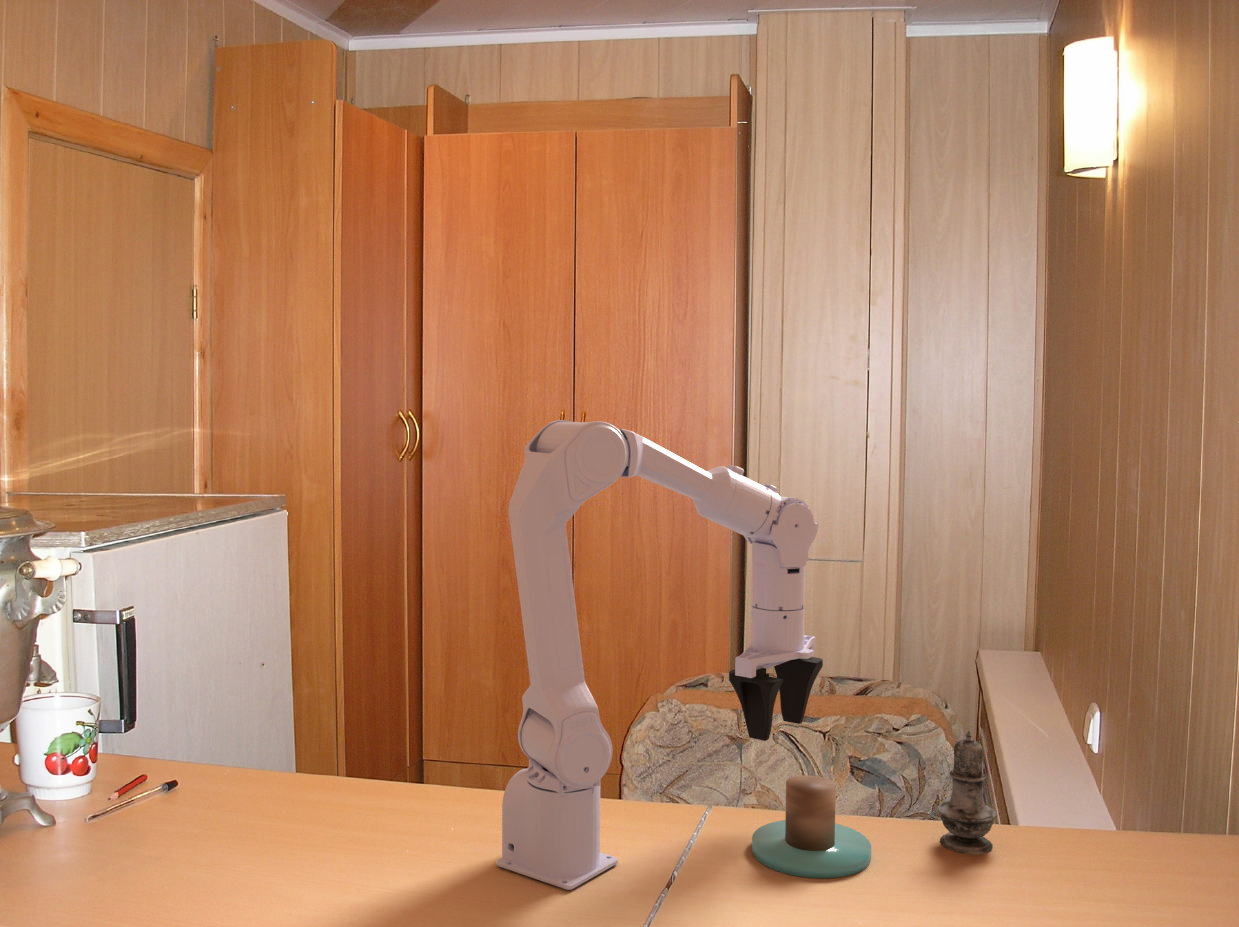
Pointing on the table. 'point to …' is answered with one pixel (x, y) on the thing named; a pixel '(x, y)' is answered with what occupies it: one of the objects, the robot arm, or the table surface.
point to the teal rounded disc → (812, 853)
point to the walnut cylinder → (810, 813)
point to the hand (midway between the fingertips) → (776, 729)
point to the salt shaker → (967, 802)
